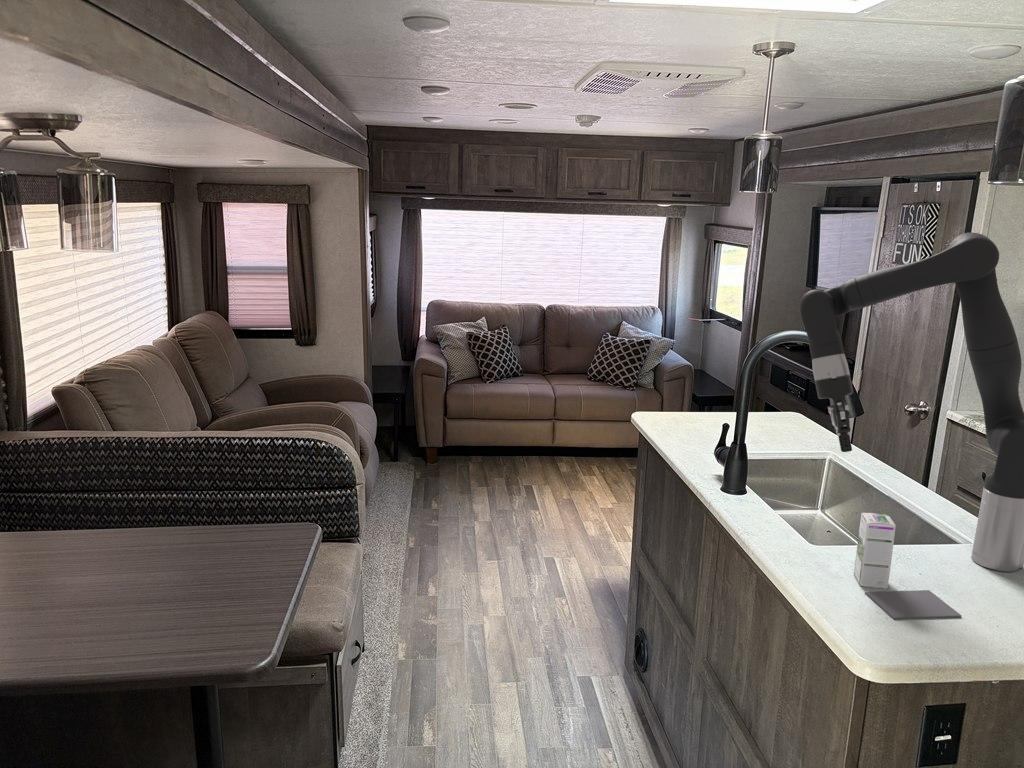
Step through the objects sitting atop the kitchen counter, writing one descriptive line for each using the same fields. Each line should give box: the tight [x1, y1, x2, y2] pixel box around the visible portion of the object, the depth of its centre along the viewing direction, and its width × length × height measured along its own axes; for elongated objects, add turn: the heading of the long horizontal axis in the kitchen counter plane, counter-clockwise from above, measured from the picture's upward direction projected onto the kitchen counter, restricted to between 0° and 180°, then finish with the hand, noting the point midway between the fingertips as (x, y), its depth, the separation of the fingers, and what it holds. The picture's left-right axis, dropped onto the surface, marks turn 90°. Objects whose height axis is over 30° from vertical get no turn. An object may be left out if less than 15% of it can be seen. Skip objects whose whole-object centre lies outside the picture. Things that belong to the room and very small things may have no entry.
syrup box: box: [853, 512, 897, 590], centre depth 160 cm, size 6×6×14 cm
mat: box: [864, 589, 962, 620], centre depth 152 cm, size 14×10×1 cm
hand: (846, 451), depth 171 cm, fingers closed
